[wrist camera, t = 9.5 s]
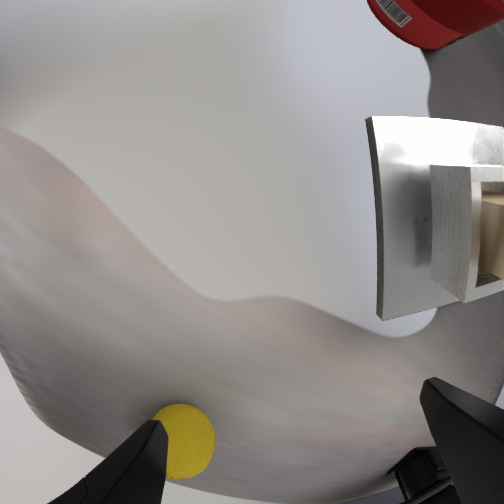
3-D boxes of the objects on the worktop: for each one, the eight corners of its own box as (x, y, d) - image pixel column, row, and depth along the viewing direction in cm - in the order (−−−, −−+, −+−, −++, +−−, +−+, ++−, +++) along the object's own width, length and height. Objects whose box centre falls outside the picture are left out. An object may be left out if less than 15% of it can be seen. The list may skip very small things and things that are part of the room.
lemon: (224, 425, 24) (218, 494, 16) (169, 425, 24) (152, 490, 16) (211, 383, 22) (198, 460, 14) (150, 385, 22) (122, 454, 15)
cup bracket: (497, 280, 20) (541, 307, 14) (376, 313, 20) (414, 362, 14) (498, 128, 16) (551, 127, 10) (365, 119, 17) (414, 99, 10)
